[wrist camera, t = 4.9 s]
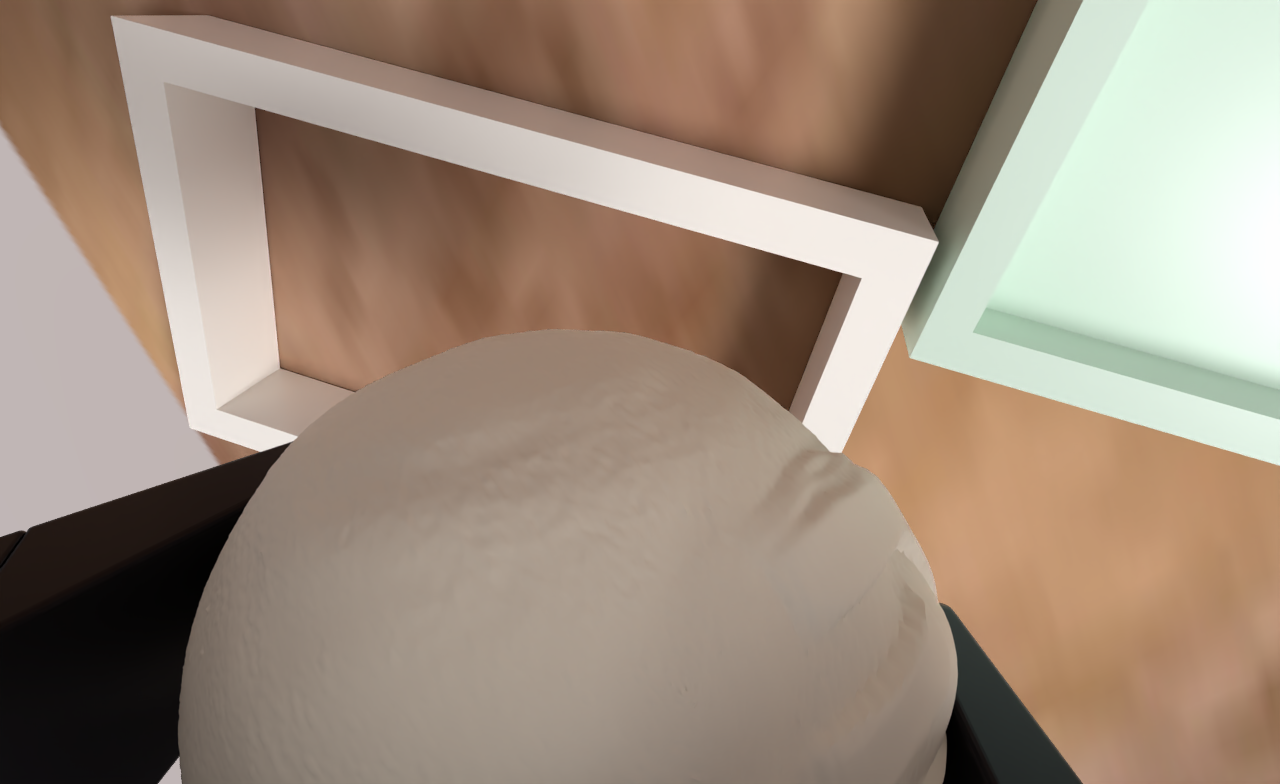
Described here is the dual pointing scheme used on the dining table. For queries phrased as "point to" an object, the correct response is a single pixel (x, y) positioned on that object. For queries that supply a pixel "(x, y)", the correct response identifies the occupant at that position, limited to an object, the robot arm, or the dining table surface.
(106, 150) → the dining table surface
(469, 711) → the steamed bun
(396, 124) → the shallow gray planter box
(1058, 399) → the tray
